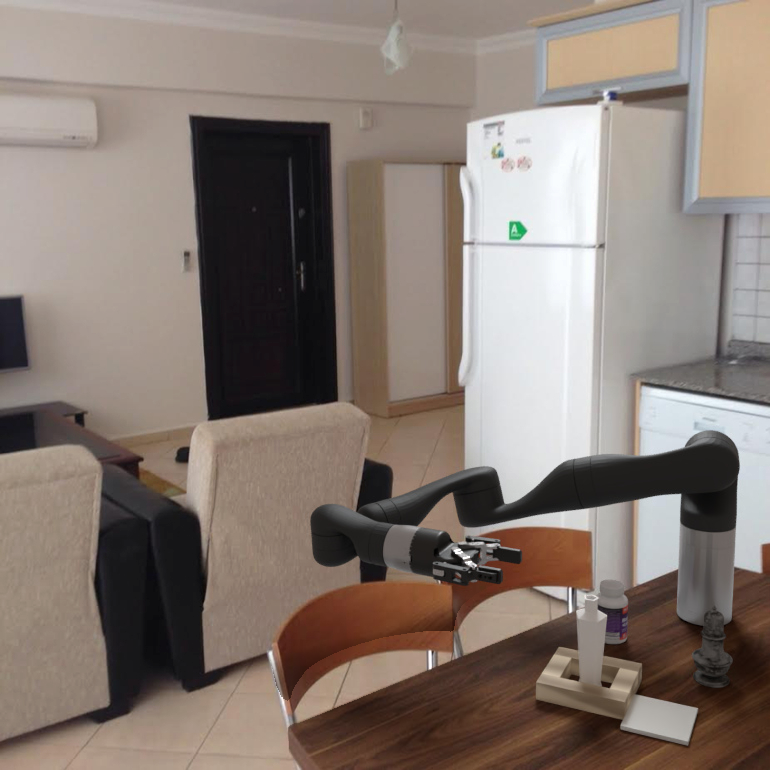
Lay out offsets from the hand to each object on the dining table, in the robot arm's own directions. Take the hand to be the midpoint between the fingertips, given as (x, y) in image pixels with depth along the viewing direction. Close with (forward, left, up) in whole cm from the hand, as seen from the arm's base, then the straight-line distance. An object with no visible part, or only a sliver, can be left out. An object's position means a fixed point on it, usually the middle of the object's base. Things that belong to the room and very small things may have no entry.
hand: (511, 566), depth 132 cm
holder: (-1, +12, -18) cm, 22 cm away
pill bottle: (-19, +11, -18) cm, 28 cm away
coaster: (+3, +23, -18) cm, 29 cm away
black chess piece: (-12, +28, -18) cm, 35 cm away
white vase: (-1, +12, -18) cm, 22 cm away
